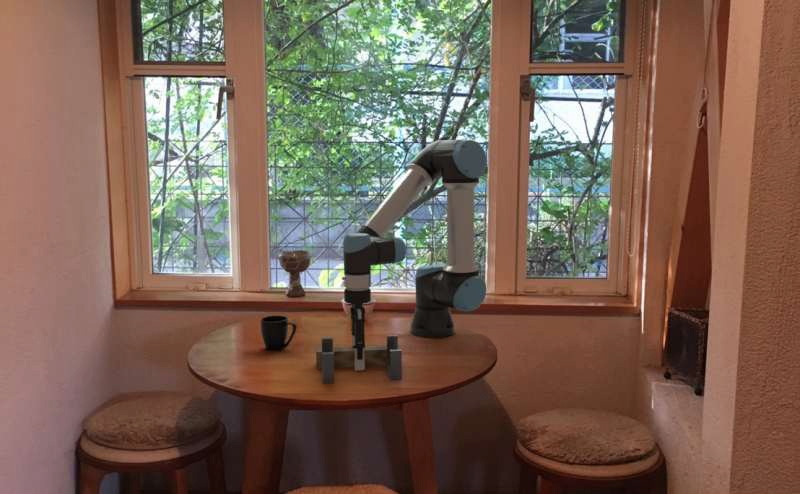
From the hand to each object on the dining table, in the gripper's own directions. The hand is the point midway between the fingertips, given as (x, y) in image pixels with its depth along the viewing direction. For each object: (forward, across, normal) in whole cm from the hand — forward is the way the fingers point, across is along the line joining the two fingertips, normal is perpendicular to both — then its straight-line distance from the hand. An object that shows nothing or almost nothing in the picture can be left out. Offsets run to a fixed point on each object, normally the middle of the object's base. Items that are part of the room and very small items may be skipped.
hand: (358, 363), depth 180 cm
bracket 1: (0, +10, -9) cm, 13 cm away
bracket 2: (0, +10, +9) cm, 13 cm away
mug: (0, -18, -23) cm, 29 cm away
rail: (+1, 0, 0) cm, 1 cm away
